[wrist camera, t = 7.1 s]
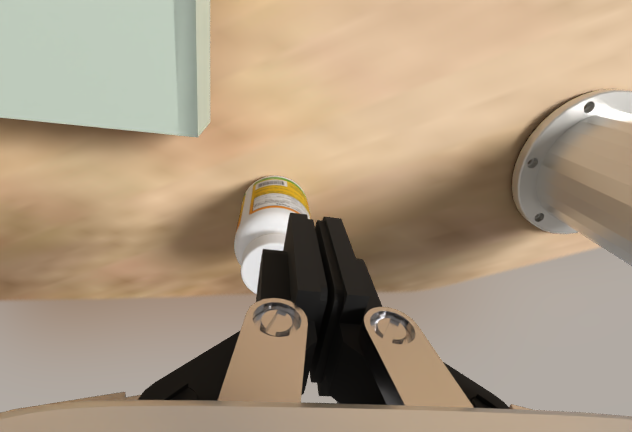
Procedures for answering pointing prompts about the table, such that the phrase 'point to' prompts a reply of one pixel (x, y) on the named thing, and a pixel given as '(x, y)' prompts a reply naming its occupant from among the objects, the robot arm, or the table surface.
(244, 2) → the table surface
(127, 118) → the lid
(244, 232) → the supplement bottle
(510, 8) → the table surface
